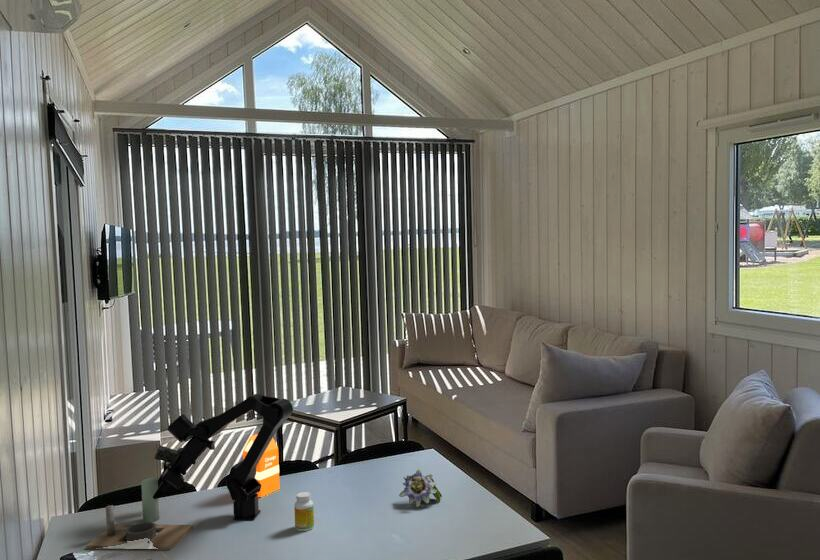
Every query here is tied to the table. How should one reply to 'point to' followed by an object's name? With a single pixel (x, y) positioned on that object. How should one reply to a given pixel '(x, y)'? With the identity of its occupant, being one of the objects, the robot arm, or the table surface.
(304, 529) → the supplement bottle
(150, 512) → the pale green cylinder
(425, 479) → the passion flower
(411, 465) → the table surface
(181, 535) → the ring holder
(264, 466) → the orange juice
